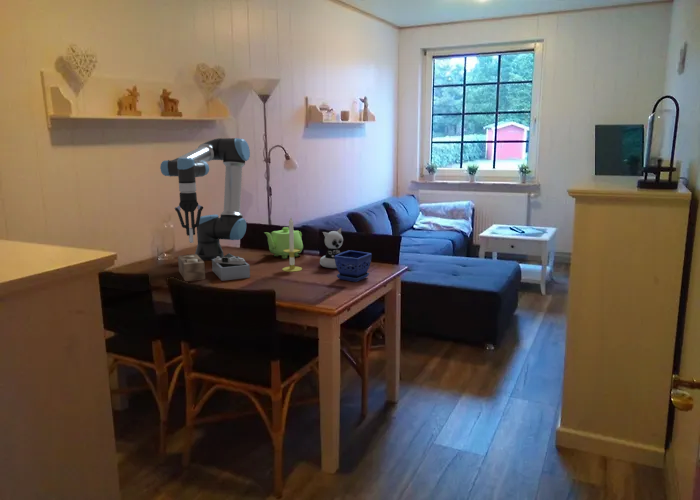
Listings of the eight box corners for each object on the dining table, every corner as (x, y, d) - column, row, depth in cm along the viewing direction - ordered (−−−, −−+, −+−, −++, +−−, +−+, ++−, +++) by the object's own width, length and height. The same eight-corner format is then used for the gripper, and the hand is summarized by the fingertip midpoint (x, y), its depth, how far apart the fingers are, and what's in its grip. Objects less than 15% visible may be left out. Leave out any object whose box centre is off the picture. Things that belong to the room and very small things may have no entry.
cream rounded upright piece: (197, 273, 267) (196, 258, 265) (199, 275, 262) (198, 260, 261) (186, 274, 264) (185, 259, 263) (188, 277, 260) (187, 261, 258)
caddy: (239, 267, 281) (238, 256, 280) (250, 277, 263) (249, 265, 262) (212, 270, 275) (211, 259, 274) (221, 280, 257) (220, 268, 256)
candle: (305, 268, 280) (304, 215, 275) (295, 272, 272) (294, 218, 266) (288, 266, 285) (287, 214, 279) (278, 270, 276) (276, 216, 270)
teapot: (287, 249, 325) (286, 222, 322) (310, 255, 310) (310, 227, 306) (251, 255, 309) (250, 227, 305) (273, 262, 293) (272, 232, 290)
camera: (251, 272, 272) (250, 252, 269) (243, 276, 263) (242, 256, 261) (222, 270, 276) (221, 250, 274) (213, 274, 268) (212, 254, 266)
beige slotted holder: (197, 269, 278) (196, 253, 276) (205, 279, 260) (204, 261, 258) (178, 271, 274) (177, 255, 272) (185, 281, 256) (184, 263, 255)
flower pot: (358, 284, 252) (358, 258, 249) (333, 279, 259) (333, 254, 256) (372, 277, 263) (372, 252, 260) (348, 273, 270) (348, 249, 267)
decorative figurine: (324, 270, 276) (323, 230, 272) (316, 263, 290) (315, 226, 286) (352, 267, 281) (352, 229, 277) (343, 261, 295) (343, 224, 290)
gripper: (200, 190, 261) (203, 239, 266) (171, 191, 256) (175, 241, 261) (203, 191, 254) (207, 242, 260) (174, 193, 249) (178, 245, 254)
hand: (191, 242), depth 260 cm, fingers closed
